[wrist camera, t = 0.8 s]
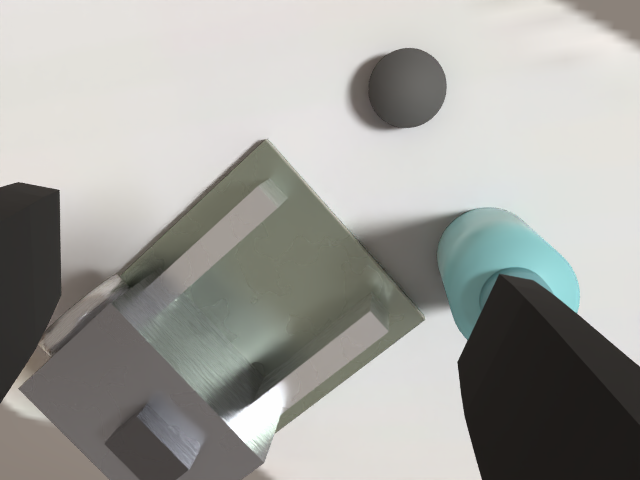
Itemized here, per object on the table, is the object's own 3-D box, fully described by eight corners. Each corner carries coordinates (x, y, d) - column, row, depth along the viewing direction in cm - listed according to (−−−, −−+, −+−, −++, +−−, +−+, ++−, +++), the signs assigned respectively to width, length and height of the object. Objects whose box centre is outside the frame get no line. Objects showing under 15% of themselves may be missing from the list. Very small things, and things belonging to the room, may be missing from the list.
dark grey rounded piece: (458, 93, 24) (462, 92, 23) (400, 142, 25) (401, 143, 24) (411, 34, 24) (413, 30, 23) (354, 85, 25) (352, 84, 24)
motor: (424, 315, 27) (435, 381, 20) (205, 482, 30) (157, 581, 24) (267, 138, 26) (228, 151, 19) (59, 333, 29) (-30, 396, 23)
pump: (556, 260, 25) (615, 316, 19) (477, 319, 26) (507, 390, 20) (495, 187, 25) (532, 217, 18) (417, 249, 26) (426, 299, 20)
